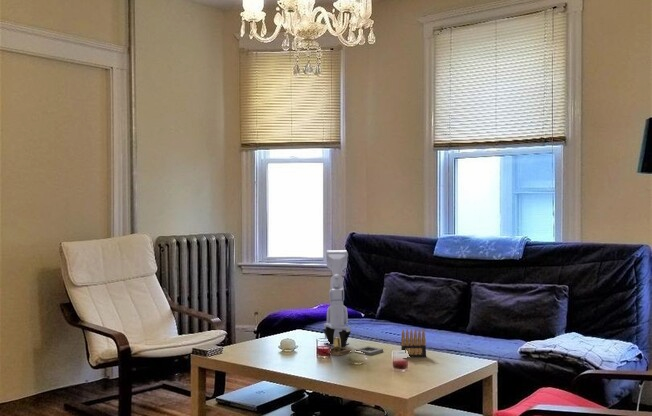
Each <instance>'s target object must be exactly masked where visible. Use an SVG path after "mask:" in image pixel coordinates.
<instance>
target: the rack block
mask: <svg viewBox="0 0 652 416" xmlns="http://www.w3.org/2000/svg"><path fill="white" fill-rule="evenodd" d="M330 348H331V351H330V353H331V354H330V355H331V356H332V355H333V356H337V357H338V356H343V355H346V354H350V353H351V352H350V351H352V349H350V348H347V347H343V348H342V347H341V351H339V352H336V351H334V346H332V347H330ZM349 352H350V353H349Z"/></svg>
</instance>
